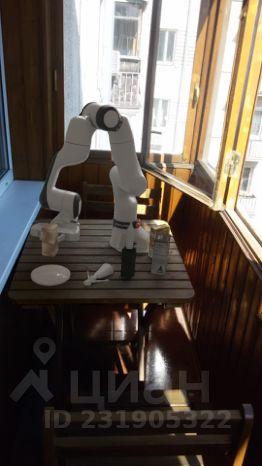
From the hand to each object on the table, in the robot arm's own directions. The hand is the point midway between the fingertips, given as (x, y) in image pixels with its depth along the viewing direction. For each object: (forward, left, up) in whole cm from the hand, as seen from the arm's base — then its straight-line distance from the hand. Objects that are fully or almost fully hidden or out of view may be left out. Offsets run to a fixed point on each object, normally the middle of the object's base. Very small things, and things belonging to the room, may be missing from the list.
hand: (49, 239), depth 155 cm
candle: (-31, -10, -17) cm, 37 cm away
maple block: (0, -1, -6) cm, 7 cm away
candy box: (-42, -33, -17) cm, 56 cm away
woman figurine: (-20, -5, -18) cm, 27 cm away
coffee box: (-44, -19, -17) cm, 51 cm away
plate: (0, -1, -17) cm, 17 cm away
